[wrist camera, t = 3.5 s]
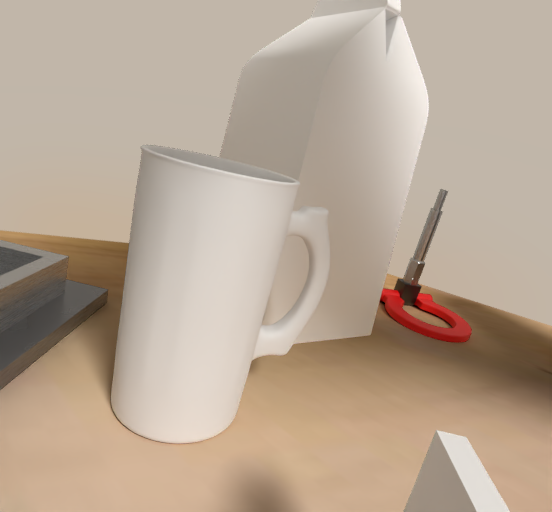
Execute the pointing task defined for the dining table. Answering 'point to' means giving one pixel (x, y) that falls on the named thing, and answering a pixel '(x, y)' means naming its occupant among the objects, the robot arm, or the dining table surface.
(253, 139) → the milk
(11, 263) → the grey shallow square tray
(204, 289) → the mug
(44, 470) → the dining table surface
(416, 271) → the tow hook
